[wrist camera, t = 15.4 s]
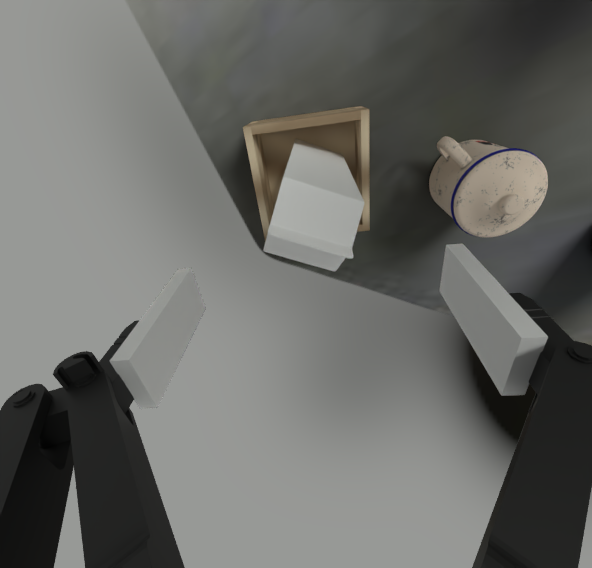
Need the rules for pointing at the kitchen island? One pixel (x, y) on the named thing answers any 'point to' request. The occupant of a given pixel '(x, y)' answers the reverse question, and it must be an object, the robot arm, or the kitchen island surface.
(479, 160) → the teacup with lid
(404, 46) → the kitchen island surface
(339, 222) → the milk
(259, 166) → the holder
